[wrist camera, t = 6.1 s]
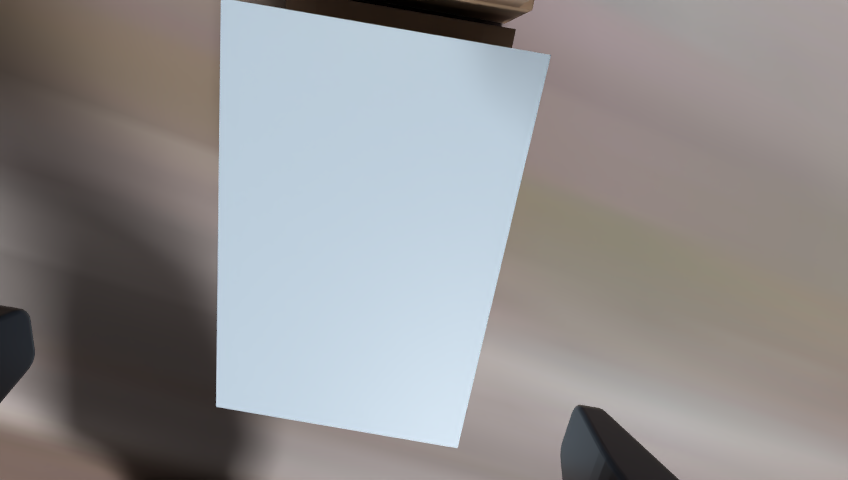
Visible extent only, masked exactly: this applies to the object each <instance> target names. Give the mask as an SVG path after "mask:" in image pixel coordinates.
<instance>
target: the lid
mask: <svg viewBox="0 0 848 480" xmlns="http://www.w3.org/2000/svg"><path fill="white" fill-rule="evenodd" d="M550 56H551V55H548V54H542V53H536V52H530V51H525V50H519V49H513V48H507V47H502V46H496V45H490V44H484V43H478V42H473V41H467V40H461V39H455V38H449V37H444V36H438V35H432V34H426V33H421V32H415V31H409V30H403V29H397V28H392V27H386V26H380V25H374V24H369V23H363V22H357V21H351V20H345V19H340V18H334V17H328V16H322V15H316V14H311V13H305V12H299V11H293V10H288V9H282V8H276V7H270V6H264V5H259V4H253V3H247V2H241V1H236V0H221V38H220V121H219V204H218V287H217V370H216V407H220V408H226V409H232V410H238V411H244V412H249V413H255V414H261V415H267V416H273V417H279V418H284V419H290V420H296V421H302V422H308V423H314V424H320V425H325V426H331V427H337V428H343V429H349V430H355V431H360V432H366V433H372V434H378V435H384V436H390V437H396V438H401V439H407V440H413V441H419V442H425V443H431V444H436V445H442V446H448V447H454V448H458V444H459V439H460V435H461V431H462V427H463V423H464V418H465V414H466V410H467V406H468V401H469V397H470V393H471V389H472V385H473V380H474V376H475V372H476V368H477V364H478V359H479V355H480V351H481V347H482V343H483V338H484V334H485V330H486V326H487V322H488V317H489V313H490V309H491V305H492V300H493V296H494V292H495V288H496V284H497V279H498V275H499V271H500V267H501V263H502V258H503V254H504V250H505V246H506V242H507V237H508V233H509V229H510V225H511V221H512V216H513V212H514V208H515V204H516V199H517V195H518V191H519V187H520V183H521V178H522V174H523V170H524V166H525V162H526V157H527V153H528V149H529V145H530V141H531V136H532V132H533V128H534V124H535V120H536V115H537V111H538V107H539V103H540V98H541V94H542V90H543V86H544V82H545V77H546V73H547V69H548V65H549V61H550Z"/></svg>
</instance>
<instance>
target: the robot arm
mask: <svg viewBox="0 0 848 480" xmlns="http://www.w3.org/2000/svg"><path fill="white" fill-rule="evenodd" d="M34 356H35V348H34V341H33V334H32V327H31V320H30V316H29V314H28V313H27V312H26V311H25V310H23V309H19V308H14V307H8V306H2V305H0V403H1V401H2V400H3V399H4V398H5V397H6V395H7V394H8V393H9V392H10V391H11V389H12V388H13V387H14V386H15V385H16V383H17V382H18V381H19V380H20V379H21V378H22V376H23V375H24V374H25V373H26V372H27V370H28V369H29V368H30V366H31V364H32V362H33V360H34ZM560 457H561V469H562V479H563V480H679V479H678V478H677V477H676V476H674V475H673V474H672V473H671V472H670V471H669V470H668V469H667V468H666V467H665V466H664V465H663V464H661V463H660V462H659V461H658V460H657V459H656V458H655V457H654V456H653V455H652V454H651V453H650V452H648V451H647V450H646V449H645V448H644V447H643V446H642V445H641V444H640V443H639V442H638V441H637V440H635V439H634V438H633V437H632V436H631V435H630V434H629V433H628V432H627V431H626V430H625V429H624V428H622V427H621V426H620V425H619V424H618V423H617V422H616V421H615V420H614V419H613V418H612V417H611V416H609V415H608V414H607V413H606V412H605V411H604V410H603V409H600V408H596V407H590V406H584V405H578V406H576V407H575V408H574V410H573V412H572V415H571V418H570V421H569V424H568V427H567V430H566V433H565V436H564V439H563V442H562V445H561V456H560Z"/></svg>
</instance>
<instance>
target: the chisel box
mask: <svg viewBox="0 0 848 480" xmlns="http://www.w3.org/2000/svg"><path fill="white" fill-rule="evenodd" d="M371 1H377V2H383V3H388V4H394V5H400V6H406V7H411V8H417V9H423V10H429V11H435V12H440V13H446V14H452V15H458V16H463V17H469V18H475V19H481V20H487V21H492V22H498V23H504V24H505V23H507V22H509V21H511V20H513V19H515V18H517V17H519V16H521V15H523V14H525V13H527V12H529V11H531V10H532V8H533V4H534V0H371ZM285 9H288V10H293V11H299V12H305V13H311V14H316V15H322V16H328V17H334V18H340V19H345V20H351V21H357V22H363V23H369V24H374V25H380V26H386V27H392V28H397V29H403V30H409V31H415V32H421V33H426V34H432V35H438V36H444V37H449V38H455V39H461V40H467V41H473V42H478V43H484V44H490V45H496V46H502V47H507V48H512V45H513V40H514V35H515V30H516V29H511V28H505V27H500V26H494V25H488V24H482V23H477V22H471V21H465V20H459V19H453V18H448V17H442V16H436V15H430V14H424V13H419V12H413V11H407V10H401V9H396V8H390V7H384V6H378V5H372V4H367V3H361V2H355V1H349V0H286V6H285Z"/></svg>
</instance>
